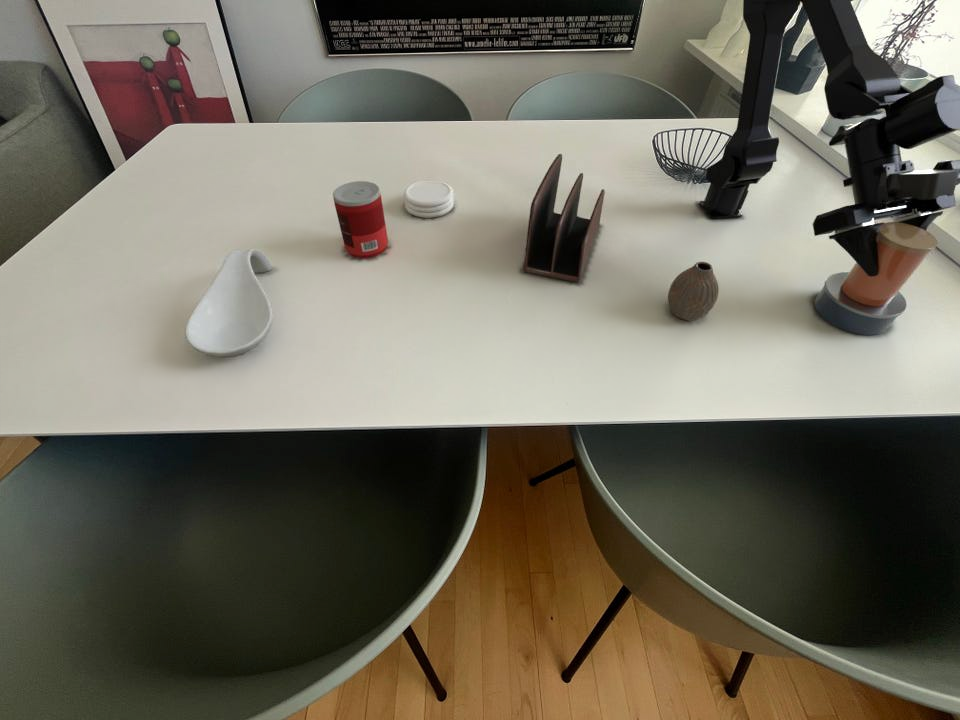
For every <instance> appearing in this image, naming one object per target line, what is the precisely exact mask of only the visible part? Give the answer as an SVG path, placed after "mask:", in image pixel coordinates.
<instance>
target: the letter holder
mask: <svg viewBox="0 0 960 720" xmlns="http://www.w3.org/2000/svg"><path fill="white" fill-rule="evenodd" d="M562 162H563V154H562V153H558V154H557V156H556V157H555V159H554V160H553V162H551V164H550V166H549V168H548V169H547V171H546V173H545V175H544V177H543V178H542V180H541V182H540V183H539V186H538V187H537V190H536V192H535V194H534V196H533V198H532V201H531V204H530V207H529V217H528V224H527V232H526V242H525V251H524V262H523V268H522V271H523V272H524V273H529V274H534V275H539V276H544V277H549V278H553V279H558V280H563V281H568V282H573V283H580V282H581V279H582V275H583V273H584V270H585V267H586V264H587V261H588V259H589V256H590V253H591V249H592V247H593V245H594V241H595V239H596V236H597V233H598V231H599V228H600V224H601V217H602V211H603V205H604V198H605V193H606V191H605V189H604V188H602V189H601V190H600V193H599V195H598V197H597V199H596V202H595V205H594V207H593V210H592V212H591V215H590V217H589V218H585V217H581V216H578V212H579V211H578V210H579V204H580V197H581V193H582V192H581V191H582V186H583V179H584V173H583V172H581V173H579V174H578V176H577V178H576V180H575V181H574V183H573V185H572V187H571V189H570V192H569V193H568V196H567V197H566V199H565V203H564V205H563V208H562V210H561V213H558V212H555V206H556V200H557V193H558V188H559V187H558V186H559V181H560V175H561V169H562Z"/></svg>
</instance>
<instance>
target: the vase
mask: <svg viewBox="0 0 960 720" xmlns="http://www.w3.org/2000/svg"><path fill="white" fill-rule="evenodd" d="M719 289H720V288H719V282H718V280H717V278H716V275H715V273H714V267H713V265H712V264H710V263H709V262H708V261H707V262H706V261H698V262H696V263H695V264H694V265H692V266H691V267H689V268H687V269H685V270H683V271H681V272H680V273H679V274H678V275H677V276H676V277H675V278H674V279H673V281H672V282H671V284H670V286H669V289H668V293H667V304H668V308H669V309H670V311H671V313H672V314H673V315H674V316H676V317H677V318H678V319H681V320H683V321H684V320H685V321H694V320H695V321H696V320H699V319H701V318H704V317H705V316H706V315H708V314H709V313H710V312H711V310H712V309H713V308H714V306H715V305H716V303H717V300H718V297H719V292H720V291H719Z"/></svg>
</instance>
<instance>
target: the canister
mask: <svg viewBox="0 0 960 720" xmlns="http://www.w3.org/2000/svg"><path fill="white" fill-rule="evenodd" d="M876 241H877V252H878V264H879V269H878V275H877V276H871V277H870V276H868V275H867V274H866V272H865V271H864V270H863V269H862V268H861V267H860V266H859V265H858V263H857V262H856V261H855V264H854V265H853V266H852V268H851V269H850V271H848V272H849V274H848V275H847V277H846V278H845V280H844V281H843V283H842V285H841V288H842V290H843V292H844V293H845V294H846V295H847V296H848V297H850V298H851V299H853V300H855V301H857V302H859V303H862V304H865V305H869V306H885V305H887V304H889V303H890V302H891V300H892V299H893V298H894V297H895V295H896V294H897V293H898V292H900V291H901V289H903V287H904V285H906V283H907V282H908V280H909V279H910V278H911V277H912V276H913V274H914V273H915V272H916V270H917V269H918V268H919V267H920V266H921V264H922V263H923V262H924V260H925V259H926V258H927V256H928V255H929V254H930V253H931V252H933V251H934V250H935V249H936V247H937V246H938V242H939V241H938V239H937V238H936V236H934V235H933V234H932V233H930V231H928V230H926V231H925V230H923V229H921V228H919V227H916V226H913V225H910V224H905V223H899V222H894V221H889V222H884V224H883V226H882V228H881V229H880V231H879V233H878V234H877V237H876Z"/></svg>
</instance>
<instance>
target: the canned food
mask: <svg viewBox="0 0 960 720" xmlns="http://www.w3.org/2000/svg"><path fill="white" fill-rule="evenodd" d="M381 193H382V192H381V190H380V187H379V186H378V184H376V183H374V182H371V181H365V180H358V181H357V180H356V181H350V182H347V183H344V184H342V185H340V186H338V187H336V188H335V189H334V190H333V192H332V197H333V203H334V209H335V212H336V216H337V220H338V225H339V228H340V232H341V237H342V241H343V245H344V248H345V251H346V252H347V254H348V255H349V256H350V257H352V258H356V259H360V260H361V259H365V260H366V259H372V258H375V257H377V256H380V255H382V254H383V253H384V252H385V251H386V250H387V247H388V243H389V238H388V232H387V226H386V220H385V212H384V205H383V199H382V194H381Z"/></svg>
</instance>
